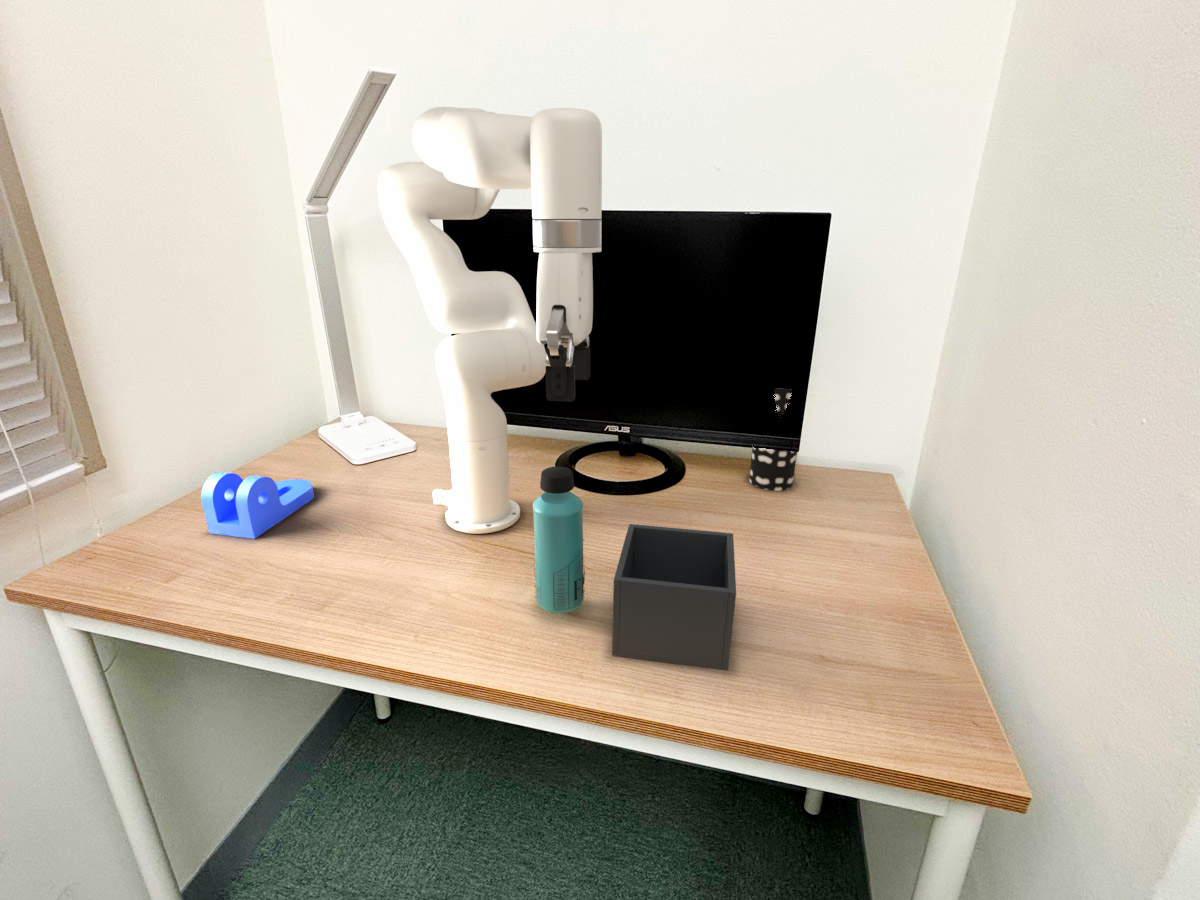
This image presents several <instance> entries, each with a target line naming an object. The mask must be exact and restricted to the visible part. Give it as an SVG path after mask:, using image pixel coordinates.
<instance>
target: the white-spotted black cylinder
mask: <svg viewBox="0 0 1200 900" xmlns="http://www.w3.org/2000/svg"><path fill="white" fill-rule="evenodd" d="M775 389H776V390H775ZM775 389H774V390H775V391H774V392H775V394H774V395H775V396H776V397H775V396H774V395H773V396H774V397H775V398H774V399H775V404H776V408H777V409H776V410H777V413H778V412H779V413H780V412H781V413H780V414H782V415H783V414H784V413H785V412H786V411H785V410H786V408H787V404H788V403H789V402H790V401H789V400H790V399H791V398H790V397H791V396H792V395H791V394H792V392H791V391H792V389H786V388H785V389H784V388H775ZM790 392H791V393H790ZM788 401H789V402H788ZM777 404H778V405H777ZM789 404H790V403H789ZM789 404H788V405H789ZM777 406H778V407H777ZM776 410H775V411H776ZM784 411H785V412H784ZM775 413H776V412H775ZM779 413H778V414H779ZM778 416H779V415H778ZM780 416H781V415H780ZM780 418H781V417H780ZM797 456H798V451H797V452H792V451H784V450H773V449H766V448H754V447H753V446H752V448H751V457H750V467H749V475H748V476H749V477H748V481H749V483H750V484H752V486H754V487H757V488H759V489H761V490H766V491H776V492H781V491H786V490H789V489H791V488H792V487H793V485H794V478H795V471H796V463H797V458H798V457H797Z"/></svg>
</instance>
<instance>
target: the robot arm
mask: <svg viewBox="0 0 1200 900" xmlns="http://www.w3.org/2000/svg"><path fill="white" fill-rule="evenodd" d="M602 129H603V128H602V123H601V120H600V118H599V117H598V115H597V114H596V113H595V112H594V111H593V112H592V111H590V110H587V109H583V108H575V107H555V108H545V109H542V110H540V111H537V112H535V114H534V115H533V116H527V115H515V114H506V113H497V112H494V111H487V110H484V109H481V108H477V107H476V108H474V107H455V106H437V107H431V108H430V109H427V110H425V111H424V112H422V114H419V117H417V119H416V121H415V122H414V124H413V128H412V132H411V138H412V139H411V141H412V145H413V148H414V150H415V152H416V154H417V156H418V158H420V160H421V161H403V162H397V163H394V164H391V165H389V166H387V167H386V168H384V170H382V171H381V173H380V174H379V177H378V180H377V198H378V204H379V208H380V213H381V215H382V218H383V221H384V224H385V226H386V229H387V230H388V233H389V234H390V236H391V238H392V239H393V241H394V243H395V245H396V246H397V247H398V249H399V250H400V252H401V253H402V255H403V256H404V257H405V260H406V262H407V264H408V265H409V267H410V271H411V273H412V276H413V278H414V281H415V284H416V285H415V286H416V288H417V290H418V293H419V296H420V299H421V301H422V304H423V307H424V310H425V312H426V315H427V317H428V320H429V322H430V323H431V325H432V327H434V329H435V330H436V331H438V332H439V333H442V334H446V335H447V334H448V335H450V336H449V337H446V338H444V339H443V340H442V341H441V342H440V343H439V344H438V346H437V348H436V350H435V354H434V361H435V363H434V364H435V368H436V374H437V376H438V380H439V381H438V382H439V384H440V388H441V389H440V390H441V392H442V397H443V403H444V409H445V416H446V418H445V419H446V427H447V438H448V449H449V450H448V451H449V462H450V476H451V485H452V486H451V487H452V488H451V489H442V488H434V489H432V493H431V498H432V505H434V506H439V507H440V506H445V507H446V508H447V509H446V511H445V523H446V524H447V526H449V527H450V528H451V529H452V530H455V531H457V532H460V533H465V534H473V535H474V534H475V535H476V534H477V535H478V534H479V535H482V534H483V535H484V534H490V533H496V532H500V531H503V530H506V529H508V528H509V527H511V526H513V525H514V524H516V523H517V522H518V520H519V519H520V517H521V507H520V505H519V504H518V503H517V501H515V500H514V499H511V483H510V459H509V458H510V457H509V438H508V422H507V417H506V414H505V411H503V409H502V408H501V407H500V405H499V404H498V403H497V402H495V400H494V399H493V397H492V396H491V395H492V393H494V392H499V391H503V390H510V389H517V388H521V387H528V386H531V385H534V384H536V383H539V382H540V381H542V379H544V376H545V394H546V395H545V397H546V400H548V401H549V402H568V403H571V402H575V400H576V381H589V380H590V378H591V347H590V336H589V335H590V334H591V332H592V329H593V321H594V318H593V317H594V279H593V278H594V277H593V270H594V266H593V253H601V252H602V250H603V249H602V247H603V246H602V237H603V236H602V230H603V229H602V226H603V225H602V224H603V223H602V222H603V221H602V217H603V216H602V210H603V208H602V207H603V206H602V204H603V202H602V201H603V200H602V198H603V195H602V194H603V192H602V191H603V170H602V169H603V130H602ZM501 190H526V191H531V217H532V245H533V246H532V247H533V248H532V249H533V251H532V252H534V253H539V254H538V261H537V271H536V272H537V274H536V275H537V276H536V309H535V311H536V317H535V318H536V320H535V319H534V316H533V312H532V311H531V308H530V306H529V303H528V300H527V297H526V295H525V293H524V291H523V289H522V286H521V285H520V283H519V282H518V280H516V279H515V277H513V276H512V275H511V274H509V273H507V272H505V271H498V270H492V271H491V270H489V271H474V270H470V269H469V268H468V266H467V265H466V262H465V259H464V257H463V254H462V251H461V249H460V247H459V245H457V243H456V242H455V241H454V240H453V239H452V238H451V237H450V235H448V234H447V233H446V232H445V231H444V230H442V228H440V227H438V226H437V225H435V224H434V223H432V221H431V220H439V221H440V220H444V221H445V220H446V221H447V220H449V221H450V220H451V221H452V220H453V221H454V220H455V221H456V220H457V221H459V220H465V221H466V220H470V221H471V220H478V219H480V218H482V217H484V216H486V215H487V214H488V213H489V211H490V210H491V208H492V206H493V205H494V202H495V200H496V198H497V196H498V195H499V192H500V191H501ZM453 334H454V335H453ZM546 344H547V346H545V345H546Z"/></svg>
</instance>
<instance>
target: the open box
mask: <svg viewBox="0 0 1200 900" xmlns="http://www.w3.org/2000/svg"><path fill="white" fill-rule="evenodd" d="M618 559H619V560H618V563H617V567H616V571H615V574H614V578H613V592H612V593H613V595H612V636H611V637H612V638H611V640H612V641H611V656H613V657H620V658H629V659H635V660H636V659H638V660H644V661H651V662H661V663H668V664H674V665H675V664H676V665H682V666H683V665H684V666H691V667H699V668H706V669H707V668H708V669H714V670H723V671H728V670H729V665H730V664H729V663H730V655H731V646H732V636H733V627H734V618H735V609H736V599H737V581H736V563H735V561H736V560H735V543H734V533H731V532H724V531H723V532H722V531H710V530H701V529H690V528H681V527H680V528H678V527H669V526H657V525H647V524H637V523H636V524H634V523H629V524H628V527H627V531H626V534H625V537H624V541H623V545H622V548H621V552H620V556H619V558H618Z"/></svg>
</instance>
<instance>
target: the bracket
mask: <svg viewBox="0 0 1200 900" xmlns="http://www.w3.org/2000/svg"><path fill="white" fill-rule="evenodd" d="M313 488H314V487H313V483H312V482H311V481H309V480H306V479H301V478H291V479H284V480H280V481H276V482H275V480H274V479H272V478H271V477H269V476H264V475H263V476H261V475H250V476H248V477H246V478H244V479H243V478H242V477H241V476H240V475H239V474H237V473H233V472H226V471H225V472H224V471H219V472H215V473H213V474H210V476H209V477H208V478H207V479H206V480H205V482H204V483H203V485H202V489H201V494H200V499H201V505H202V509H203V513H204V516H205V520H206V525H207V529H208V533H209V534H211V535H212V534H213V535H221V536H229V537H238V538H245V539H252V540H255V539H256V538H258V537H260V536H261V535H263V534H264V533H265V532H266V531H268V530H269V529H271V528H273V527H274V526H275V525H277V524H279V523H280V522H281V521H283V520H285V519H286V518H287V517H289V516H290V515H293V513H294V512H296V511H298V510H299V509H300V508H302V507H303V506H305V505H306V504H308V503H309V502H311V501H312V500H313V499H314V498H315V497H314V496H315V494H314V493H315V492H314V489H313Z"/></svg>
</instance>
